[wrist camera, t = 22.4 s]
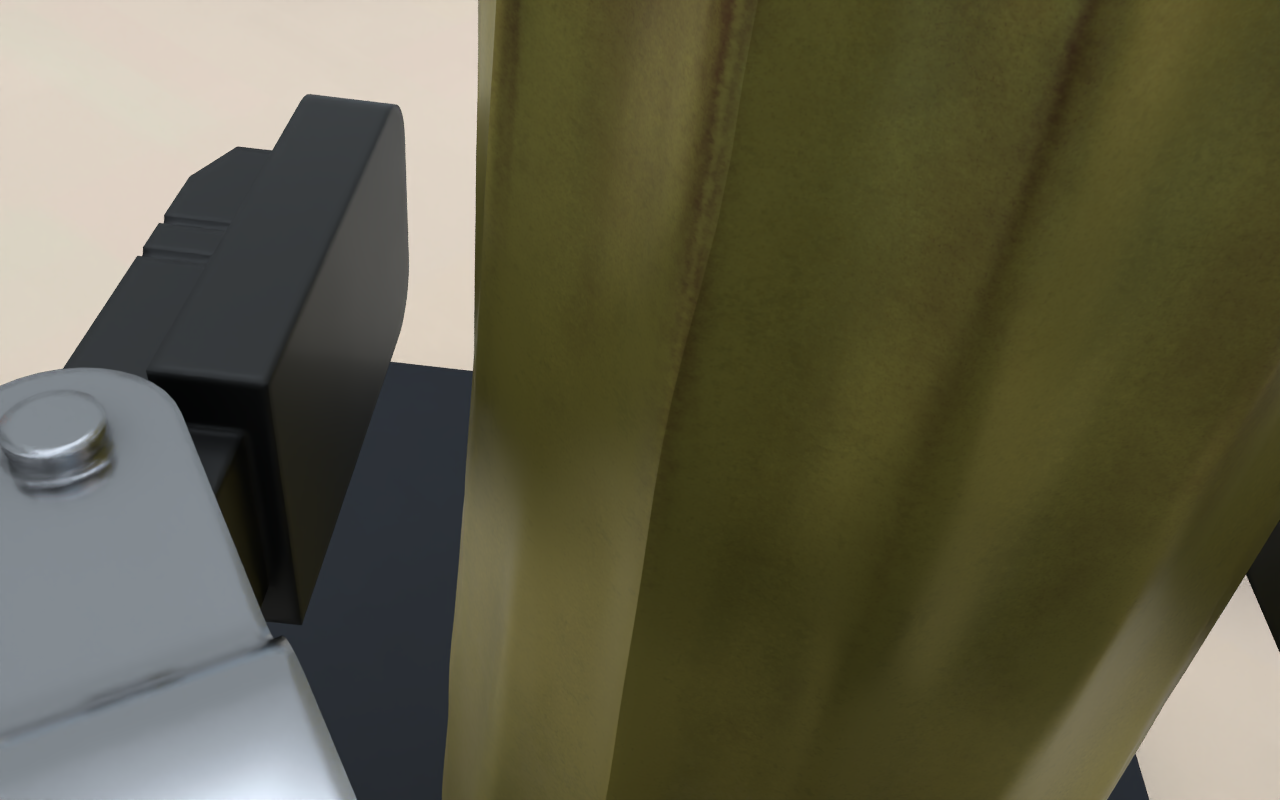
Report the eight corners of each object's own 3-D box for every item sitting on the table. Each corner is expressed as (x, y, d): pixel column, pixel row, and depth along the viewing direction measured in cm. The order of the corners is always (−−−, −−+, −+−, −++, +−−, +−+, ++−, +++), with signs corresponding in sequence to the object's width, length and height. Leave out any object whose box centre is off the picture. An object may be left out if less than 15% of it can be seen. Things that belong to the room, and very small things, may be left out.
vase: (316, 1060, 13) (-84, -782, 3) (585, 659, 17) (743, -650, 8) (838, 1398, 11) (2967, -386, 2) (993, 859, 15) (1841, -500, 6)
